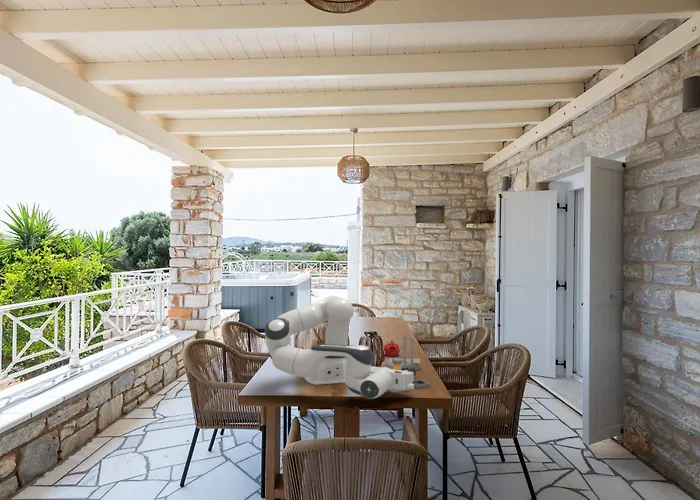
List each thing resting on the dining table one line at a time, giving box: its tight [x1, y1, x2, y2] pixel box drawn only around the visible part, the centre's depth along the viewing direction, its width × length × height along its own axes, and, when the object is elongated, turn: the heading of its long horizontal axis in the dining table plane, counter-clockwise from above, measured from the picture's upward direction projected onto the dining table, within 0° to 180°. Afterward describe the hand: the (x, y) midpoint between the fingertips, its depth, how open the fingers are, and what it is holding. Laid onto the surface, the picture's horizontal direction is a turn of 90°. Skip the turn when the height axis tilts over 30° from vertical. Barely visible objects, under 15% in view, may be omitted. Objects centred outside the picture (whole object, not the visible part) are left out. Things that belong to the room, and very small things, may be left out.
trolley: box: [384, 335, 417, 378], centre depth 193 cm, size 13×9×19 cm
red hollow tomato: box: [383, 339, 401, 358], centre depth 236 cm, size 10×10×9 cm
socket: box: [412, 378, 431, 390], centre depth 181 cm, size 7×7×2 cm
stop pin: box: [391, 357, 404, 370], centre depth 179 cm, size 5×5×12 cm
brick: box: [388, 357, 421, 371], centre depth 210 cm, size 17×8×5 cm, turn 80°
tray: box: [388, 383, 415, 393], centre depth 179 cm, size 11×11×2 cm
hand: (396, 370), depth 177 cm, fingers open, 8 cm apart
